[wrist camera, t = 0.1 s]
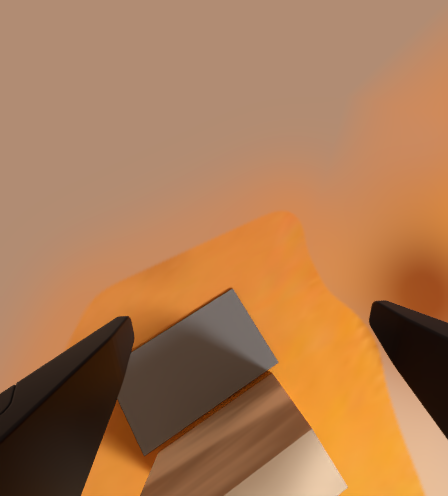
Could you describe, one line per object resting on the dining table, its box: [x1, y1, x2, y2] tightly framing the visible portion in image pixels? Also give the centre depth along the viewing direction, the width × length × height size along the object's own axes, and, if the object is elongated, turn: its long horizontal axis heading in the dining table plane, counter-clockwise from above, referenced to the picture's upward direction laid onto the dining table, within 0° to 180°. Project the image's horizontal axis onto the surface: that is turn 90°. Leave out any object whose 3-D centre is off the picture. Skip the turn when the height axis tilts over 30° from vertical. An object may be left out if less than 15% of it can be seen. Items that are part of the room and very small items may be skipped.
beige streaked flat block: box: [140, 373, 348, 496], centre depth 16 cm, size 3×12×10 cm, turn 122°
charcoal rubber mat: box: [117, 289, 278, 456], centre depth 22 cm, size 8×14×1 cm, turn 122°
